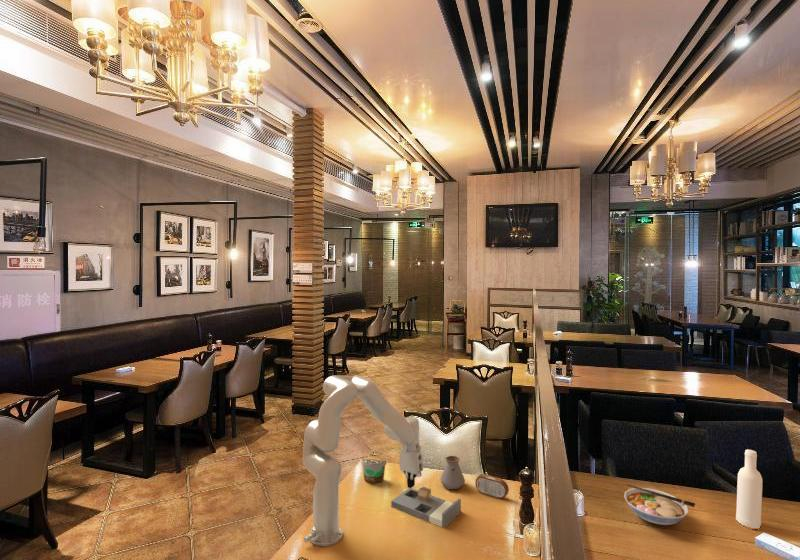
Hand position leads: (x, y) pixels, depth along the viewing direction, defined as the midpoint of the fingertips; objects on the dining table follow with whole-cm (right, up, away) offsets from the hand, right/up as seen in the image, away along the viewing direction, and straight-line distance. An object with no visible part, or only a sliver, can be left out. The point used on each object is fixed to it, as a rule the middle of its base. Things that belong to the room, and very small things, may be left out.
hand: (410, 486), depth 196 cm
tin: (+36, -6, +3) cm, 37 cm away
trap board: (+6, -6, -8) cm, 12 cm away
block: (+6, -3, -5) cm, 8 cm away
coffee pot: (+19, -5, +7) cm, 21 cm away
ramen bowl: (+100, -7, -15) cm, 101 cm away
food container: (-18, -5, +15) cm, 24 cm away
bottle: (+135, -7, -18) cm, 137 cm away
